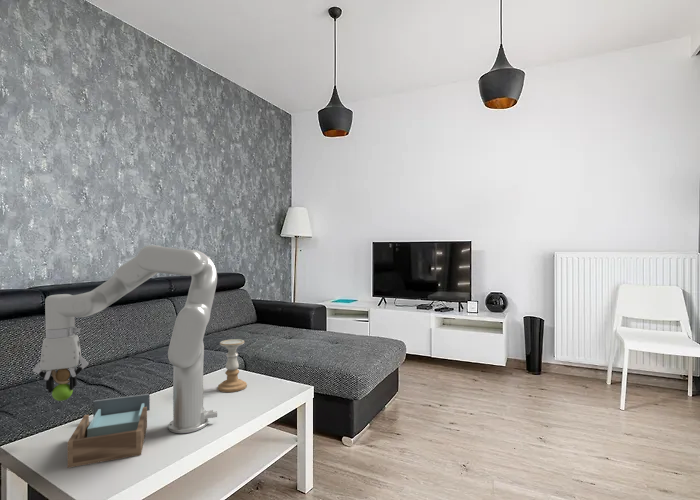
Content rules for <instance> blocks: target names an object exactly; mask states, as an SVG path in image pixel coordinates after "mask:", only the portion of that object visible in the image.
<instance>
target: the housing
mask: <svg viewBox="0 0 700 500" xmlns="http://www.w3.org/2000/svg"><path fill="white" fill-rule="evenodd" d="M89 425H90V414H85V415H83V417H82V418H81V420H80V421H79V423H78V425H77V426H76V428H75V429H74V431H73V433H72V435H71V436H70V438H69V439H68V441H67V468H69V469H70V468H73V467H80V466H85V465H90V464H92V465H93V464H96V463H101V462H103V463H104V462H109V461H114V460H119V459H125V458H132V457H137V456H142V452H143V448H144V442H145V439H146V438H145V437H146V432H147V429H148V411H147V407H143V409H142V413H141V416H140V420H139V424H138V427H137V430H133V431H127V432H120V433H114V434H107V435H101V436H94V437H88V438H87V428H88V427H89Z"/></svg>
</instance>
